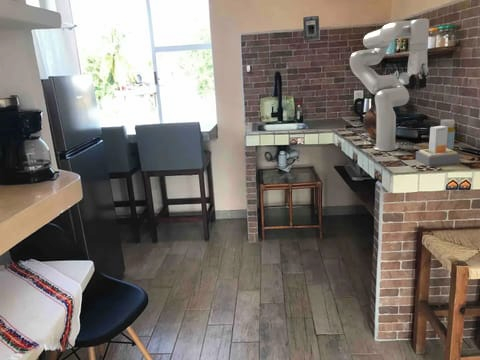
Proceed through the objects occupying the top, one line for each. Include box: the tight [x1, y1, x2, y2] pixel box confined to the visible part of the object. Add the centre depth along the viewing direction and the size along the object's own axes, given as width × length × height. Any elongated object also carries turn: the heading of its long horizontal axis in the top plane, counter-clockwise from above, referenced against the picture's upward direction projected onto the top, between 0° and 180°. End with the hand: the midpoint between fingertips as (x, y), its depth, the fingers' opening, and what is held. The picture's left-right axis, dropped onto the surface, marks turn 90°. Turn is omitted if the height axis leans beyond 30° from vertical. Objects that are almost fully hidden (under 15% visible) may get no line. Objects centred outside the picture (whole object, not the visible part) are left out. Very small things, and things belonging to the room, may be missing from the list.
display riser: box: [415, 148, 461, 167], centre depth 173 cm, size 12×14×5 cm
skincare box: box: [428, 125, 448, 154], centre depth 171 cm, size 6×4×12 cm
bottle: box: [439, 118, 456, 151], centre depth 189 cm, size 7×7×15 cm
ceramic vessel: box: [362, 90, 377, 139], centre depth 227 cm, size 21×18×30 cm
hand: (416, 86), depth 175 cm, fingers open, 9 cm apart
